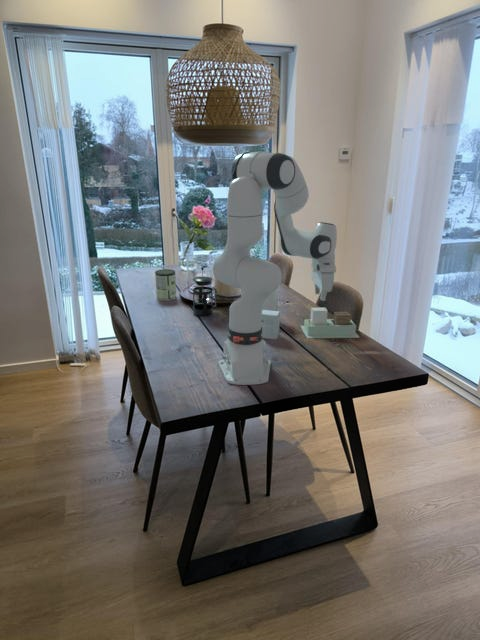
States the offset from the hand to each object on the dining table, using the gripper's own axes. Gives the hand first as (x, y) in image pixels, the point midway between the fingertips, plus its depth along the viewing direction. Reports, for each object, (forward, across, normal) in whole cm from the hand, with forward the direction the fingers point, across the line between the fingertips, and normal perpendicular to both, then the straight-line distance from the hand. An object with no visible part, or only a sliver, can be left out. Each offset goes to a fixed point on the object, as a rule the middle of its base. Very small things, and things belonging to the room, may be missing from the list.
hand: (319, 296), depth 179 cm
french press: (+17, -28, -48) cm, 57 cm away
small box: (+17, +2, -20) cm, 27 cm away
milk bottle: (+17, -16, -18) cm, 30 cm away
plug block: (+15, 0, 0) cm, 15 cm away
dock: (+16, 0, +6) cm, 17 cm away
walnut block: (+15, 0, +10) cm, 18 cm away
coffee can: (+17, -52, -68) cm, 87 cm away
